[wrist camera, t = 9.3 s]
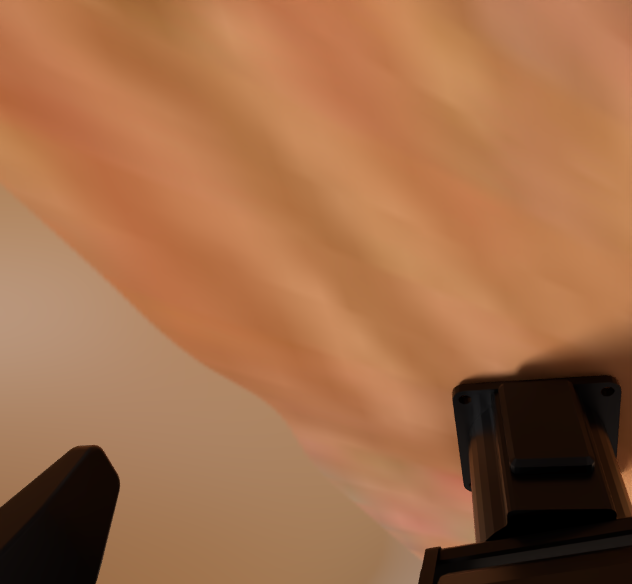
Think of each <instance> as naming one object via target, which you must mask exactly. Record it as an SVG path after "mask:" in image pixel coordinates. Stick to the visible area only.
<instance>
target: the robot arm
mask: <svg viewBox="0 0 632 584" xmlns="http://www.w3.org/2000/svg"><path fill="white" fill-rule="evenodd" d="M605 387H610V388H608V389H603V388H605ZM463 395H467V396H468V397H461V396H463ZM452 399H453V407H454V415H455V422H456V430H457V437H458V445H459V452H460V460H461V468H462V475H463V483H464V487H465V488H466V489H467V490H469V491H471V492H472V501H473V513H474V525H475V537H476V543H473V544H467V545H461V546H455V547H449V548H443V549H442V548H441V547H434V548H428V549H426V550H425V555H424V560H423V565H422V569H421V572H420V578H419V583H418V584H632V505H631V502H630V499H629V496H628V493H627V490H626V487H625V484H624V481H623V478H622V475H621V472H620V469H619V466H618V463H617V460H616V457H617V443H618V430H619V416H620V403H621V387H620V385H619V382H618V380H617V379H616V378H615V377H613V376H608V375H603V376H587V377H571V378H555V379H539V380H523V381H507V382H491V383H475V384H462V385H458V386H456V387H455V388H454V389H453V392H452ZM119 489H120V480H119V476H118V474H117V472H116V471H115V469H114V467H113V466H112V464H111V462H110V461H109V459H108V457H107V456H106V454H105V452H104V451H103V449H102V448H101V447H99V446H97V445H86V446H77V447H74V448H72V449H71V450H69V451H68V452H67V453H66V454H65V455H63V456H62V457H61V458H60V459H58V460H57V461H56V462H55V463H54V464H52V465H51V466H50V467H49V468H48V469H46V470H45V471H44V472H43V473H42V474H41V475H39V476H38V477H37V478H35V479H34V480H33V481H32V482H31V483H29V484H28V485H27V486H26V487H25V488H23V489H22V490H21V491H20V492H19V493H17V494H16V495H15V496H14V497H12V498H11V499H10V500H9V501H8V502H6V503H5V504H4V505H3V506H2V507H0V584H96V581H97V578H98V574H99V570H100V567H101V563H102V559H103V555H104V551H105V547H106V543H107V539H108V535H109V530H110V527H111V522H112V519H113V514H114V511H115V506H116V502H117V498H118V494H119Z"/></svg>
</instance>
